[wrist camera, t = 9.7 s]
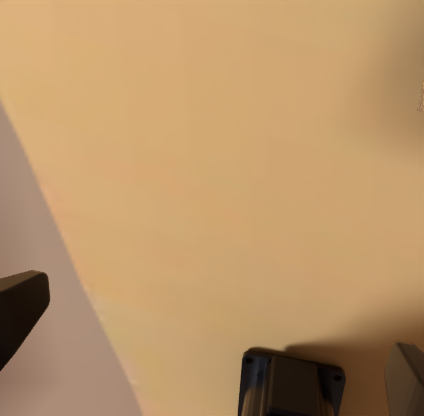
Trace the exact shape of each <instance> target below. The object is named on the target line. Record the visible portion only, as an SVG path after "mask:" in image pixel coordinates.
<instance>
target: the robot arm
mask: <svg viewBox="0 0 424 416" xmlns="http://www.w3.org/2000/svg"><path fill="white" fill-rule="evenodd" d="M49 302H50V290H49V281H48V276H47V274H46V273H44V272H40V271H34V270H31V271H27V272H23V273H19V274H16V275H12V276H9V277H5V278H1V279H0V371H1V370H2V369H3V368H4V366H5V365H6V364H7V363H8V362H9V360H10V359H11V358H12V357H13V355H14V354H15V353H16V351H17V350H18V349H19V347H20V346H21V345H22V343H23V342H24V340H25V339H26V337H27V336H28V335H29V333H30V332H31V330H32V329H33V327H34V326H35V325H36V323H37V322H38V320H39V319H40V317H41V316H42V315H43V313H44V312H45V310H46V309H47V307H48V305H49ZM248 358H252V359H253V360H250V359H248ZM334 375H340V376H334ZM345 381H346V376H345V372H344V370H343V369H342V368H340V367H336V366H331V365H325V364H320V363H315V362H309V361H304V360H299V359H293V358H288V357H283V356H277V355H272V354H267V353H261V352H256V351H246V352H244V354H243V359H242V369H241V381H240V393H239V405H238V416H338V413H339V409H340V404H341V399H342V395H343V390H344V386H345ZM385 385H386V392H387V399H388V406H389V413H390V416H424V352H423V351H422V350H421V349H419V348H418V347H417V346H416V345H414V344H411V343H406V342H400V341H396V342H394V343H393V345H392V348H391V351H390V354H389V358H388V361H387V364H386V368H385Z"/></svg>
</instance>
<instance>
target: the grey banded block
mask: <svg viewBox="0 0 424 416" xmlns="http://www.w3.org/2000/svg"><path fill="white" fill-rule="evenodd" d="M417 110H418V111H422V112H424V82H423V87H422V91H421V96H420V100H419V104H418V109H417Z"/></svg>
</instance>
